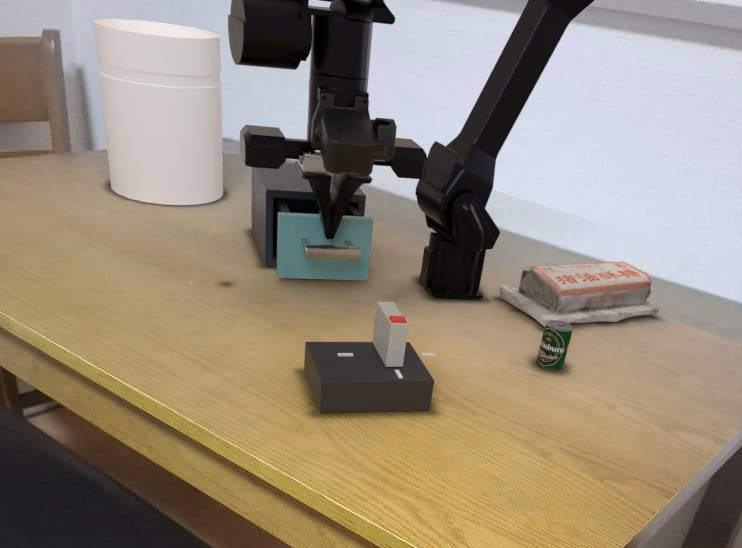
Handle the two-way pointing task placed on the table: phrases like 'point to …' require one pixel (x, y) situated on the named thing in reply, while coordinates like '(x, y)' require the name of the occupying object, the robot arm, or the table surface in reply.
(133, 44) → the canister
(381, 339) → the dial
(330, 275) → the drawer
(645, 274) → the packaged product
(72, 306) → the table surface
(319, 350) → the dial panel
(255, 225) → the cabinet
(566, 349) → the beer can
